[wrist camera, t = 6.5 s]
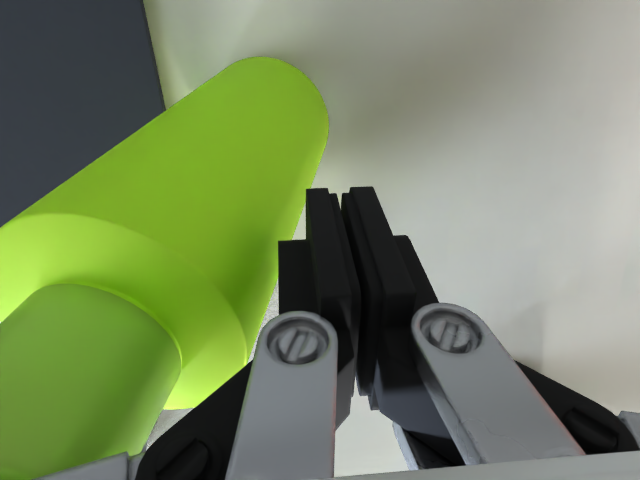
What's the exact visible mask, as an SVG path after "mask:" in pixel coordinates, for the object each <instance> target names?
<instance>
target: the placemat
mask: <svg viewBox="0 0 640 480" xmlns="http://www.w3.org/2000/svg"><path fill="white" fill-rule="evenodd" d="M164 111H166V109H165V105H164V100H163V95H162V90H161V85H160V81H159V76H158V71H157V66H156V61H155V57H154V52H153V47H152V42H151V37H150V33H149V28H148V23H147V18H146V14H145V9H144V4H143V0H0V228H1V227H2V226H3V225H4V224H6V223H7V222H9V221H10V220H11V219H13V218H14V217H16V216H17V215H19V214H20V213H21V212H23V211H24V210H26V209H27V208H28V207H30V206H31V205H33V204H34V203H36V202H37V201H38V200H40V199H41V198H43V197H44V196H45V195H47V194H48V193H50V192H51V191H53V190H54V189H55V188H57V187H58V186H60V185H61V184H62V183H64V182H65V181H67V180H68V179H70V178H71V177H72V176H74V175H75V174H77V173H78V172H79V171H81V170H82V169H84V168H85V167H87V166H88V165H89V164H91V163H92V162H94V161H95V160H96V159H98V158H99V157H101V156H102V155H104V154H105V153H106V152H108V151H109V150H111V149H112V148H113V147H115V146H116V145H118V144H119V143H121V142H122V141H123V140H125V139H126V138H128V137H129V136H130V135H132V134H133V133H135V132H136V131H138V130H139V129H140V128H142V127H143V126H145V125H146V124H147V123H149V122H150V121H152V120H153V119H155V118H156V117H157V116H159V115H160V114H162V113H163V112H164Z"/></svg>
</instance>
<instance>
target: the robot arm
mask: <svg viewBox="0 0 640 480" xmlns="http://www.w3.org/2000/svg"><path fill="white" fill-rule="evenodd" d="M278 281H279V315H278V316H276V317H275V318H273V319H271V320H270V321H269V322H268V323H267V324H266V325H265V326H264V327H263V328H262V330H261V332H260V335H259V337H258V341H257V345H256V350H255V354H254V358H253V360H252V361H251V362H249V363H248V364H247V365H246V366H244V367H243V368H242V369H241V370H240V371H238V372H237V373H236V374H235V375H234V376H232V377H231V378H230V379H229V380H228V381H226V382H225V383H224V384H223V385H222V386H220V387H219V388H218V389H217V390H216V391H214V392H213V393H212V394H211V395H210V396H208V397H207V398H206V399H205V400H204V401H202V402H201V403H200V404H199V405H198V406H196V407H195V408H194V409H193V410H192V411H190V412H189V413H188V414H187V415H186V416H184V417H183V418H182V419H181V420H179V421H178V422H177V423H176V424H175V425H173V426H172V427H171V428H170V429H169V430H167V431H166V432H165V433H164V434H163V435H161V436H160V437H159V438H158V439H157V440H156V441H155V442H154V443H153V444H152V445H151V446H150V447H149V448H148V449H147V451H146V452H142V453H139V454H136V455H132V456H129V454H128V452H127V451H125V452H122V453H118V454H115V455H112V456H108V457H105V458H102V459H98V460H95V461H92V462H88V463H85V464H81V465H78V466H75V467H71V468H68V469H65V470H61V471H58V472H55V473H51V474H48V475H44V476H41V477H38V478H34V479H31V480H640V413H634V412H627V411H621V412H620V414H619V415H618V416H615V415H614V414H613V413H612V412H611V411H609V410H607V409H606V408H604V407H603V406H601V405H600V404H598V403H596V402H594V401H592V400H590V399H588V398H587V397H585V396H583V395H581V394H579V393H577V392H575V391H573V390H571V389H569V388H567V387H565V386H563V385H561V384H559V383H558V382H556V381H554V380H552V379H550V378H548V377H546V376H544V375H542V374H540V373H538V372H536V371H534V370H532V369H531V368H529V367H527V366H525V365H523V364H521V363H519V362H517V361H515V360H513V359H512V357H511V356H510V355H509V353H508V352H507V351H506V350H505V348H504V347H503V346H502V344H501V343H500V342H499V340H498V339H497V338H496V337H495V335H494V334H493V333H492V331H491V330H490V329H489V327H488V326H487V325H486V324H485V322H484V321H483V320H482V319H481V318H480V317H479V316H478V315H476V314H475V313H473V312H471V311H470V310H468V309H466V308H463V307H461V306H458V305H455V304H449V303H439V301H438V299H437V297H436V295H435V293H434V291H433V288H432V286H431V284H430V282H429V280H428V278H427V275H426V273H425V271H424V269H423V267H422V265H421V263H420V260H419V258H418V256H417V254H416V252H415V250H414V247H413V245H412V243H411V241H410V239H409V238H408V236H406V235H398V236H393V234H392V231H391V229H390V227H389V224H388V222H387V219H386V217H385V215H384V212H383V210H382V207H381V205H380V202H379V200H378V198H377V195H376V193H375V190H374V188H373V187H351V188H350V191H349V193H342V200H341V210H340V206H339V202H338V198H337V194H336V193H333V194H329V191H328V188H313V189H306V239H305V240H282V241H278ZM355 376H356V381H357V386H358V391H359V395H360V396H367V395H368V400H369V404H370V409H371V410H380V412H381V413H382V414H384V415H385V416H387V417H388V418H389V419H391V420H392V421H393V429H394V433H395V436H396V439H397V441H398V444H399V446H400V449H401V451H402V453H403V456H404V458H405V461H406V463H407V466H408V468H409V471H400V472H389V473H378V474H367V475H355V476H345V477H334V452H335V431H336V430H337V428H338V427H339V426H340V425H341V424H342V422H343V421H344V420H345V419H346V418H347V417H348V415H349V414H350V403H351V397H353V393H354V382H355Z"/></svg>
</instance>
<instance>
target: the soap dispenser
mask: <svg viewBox="0 0 640 480" xmlns="http://www.w3.org/2000/svg"><path fill="white" fill-rule="evenodd" d="M328 133H329V120H328V113H327V109H326V106H325V103H324V101H323V98H322V96H321V94H320V93H319V91H318V89H317V88H316V86H315V85H314V84H313V83H312V81H311V80H310V79H309V78H308V77H307V76H306V75H305V74H304V73H302V72H301V71H300V70H298V69H297V68H295V67H294V66H292V65H290V64H288V63H286V62H284V61H281V60H278V59H274V58H269V57H251V58H246V59H242V60H240V61H237V62H235V63H233V64H231V65H230V66H228V67H227V68H225V69H224V70H223V71H221V72H220V73H218V74H217V75H215V76H214V77H213V78H211V79H210V80H208V81H207V82H206V83H204V84H203V85H201V86H200V87H198V88H197V89H196V90H194V91H193V92H191V93H190V94H189V95H187V96H186V97H184V98H183V99H181V100H180V101H179V102H177V103H176V104H174V105H173V106H172V107H170V108H169V109H167V110H166V111H164V112H163V113H162V114H160V115H159V116H157V117H156V118H155V119H153V120H152V121H150V122H149V123H147V124H146V125H145V126H143V127H142V128H140V129H139V130H138V131H136V132H135V133H133V134H132V135H130V136H129V137H128V138H126V139H125V140H123V141H122V142H121V143H119V144H118V145H116V146H115V147H113V148H112V149H111V150H109V151H108V152H106V153H105V154H104V155H102V156H101V157H99V158H98V159H96V160H95V161H94V162H92V163H91V164H89V165H88V166H87V167H85V168H84V169H82V170H81V171H79V172H78V173H77V174H75V175H74V176H72V177H71V178H70V179H68V180H67V181H65V182H64V183H62V184H61V185H60V186H58V187H57V188H55V189H54V190H53V191H51V192H50V193H48V194H47V195H45V196H44V197H43V198H41V199H40V200H38V201H37V202H36V203H34V204H33V205H31V206H30V207H28V208H27V209H26V210H24V211H23V212H21V213H20V214H19V215H17V216H16V217H14V218H13V219H11V220H10V221H9V222H7V223H6V224H4V225H3V226H2V227H1V228H0V321H1V323H0V480H31V479H34V478H38V477H41V476H44V475H48V474H51V473H55V472H58V471H61V470H65V469H68V468H71V467H75V466H78V465H81V464H85V463H88V462H92V461H95V460H98V459H102V458H105V457H108V456H112V455H115V454H118V453H122V452H125V451H127V452H128V454H129V456H132V455H136V454H139V453H141V451H142V449H143V447H144V445H145V443H146V441H147V439H148V437H149V435H150V433H151V431H152V429H153V427H154V425H155V423H156V421H157V419H158V417H159V415H160V413H161V411H162V409H186V408H193V407H196V406H198V405H199V404H200V403H201V402H202V401H204V400H205V399H206V398H207V397H208V396H210V395H211V394H212V393H213V392H214V391H216V390H217V389H218V388H219V387H220V386H222V385H223V384H224V383H225V382H226V381H228V380H229V379H230V378H231V377H232V376H234V375H235V374H236V373H237V372H238V371H240V370H241V369H242V368H243V367H244V366H246V365H247V362H248V359H249V356H250V354H251V351H252V348H253V345H254V343H255V340H256V337H257V334H258V332H259V329H260V326H261V323H262V321H263V318H264V315H265V312H266V309H267V307H268V304H269V301H270V298H271V296H272V293H273V290H274V287H275V285H276V282H277V279H278V241H282V240H292V237H293V235H294V232H295V229H296V226H297V224H298V221H299V218H300V215H301V213H302V210H303V207H304V204H305V201H306V189H310V188H311V185H312V182H313V179H314V177H315V174H316V171H317V168H318V166H319V163H320V160H321V157H322V154H323V152H324V149H325V146H326V143H327V139H328Z"/></svg>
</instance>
